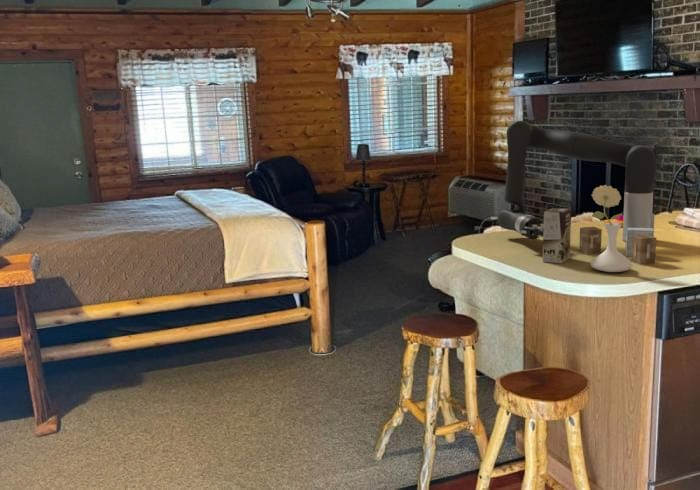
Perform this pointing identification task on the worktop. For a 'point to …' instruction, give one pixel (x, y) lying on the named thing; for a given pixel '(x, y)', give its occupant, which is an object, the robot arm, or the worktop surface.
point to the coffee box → (556, 235)
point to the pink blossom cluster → (616, 220)
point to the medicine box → (634, 232)
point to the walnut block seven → (590, 240)
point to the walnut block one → (643, 249)
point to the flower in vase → (609, 233)
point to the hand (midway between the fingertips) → (550, 235)
